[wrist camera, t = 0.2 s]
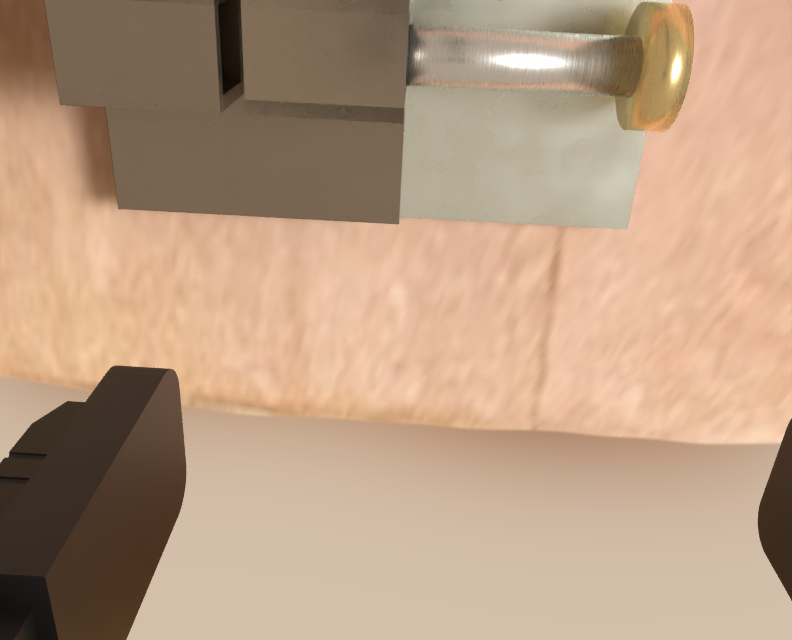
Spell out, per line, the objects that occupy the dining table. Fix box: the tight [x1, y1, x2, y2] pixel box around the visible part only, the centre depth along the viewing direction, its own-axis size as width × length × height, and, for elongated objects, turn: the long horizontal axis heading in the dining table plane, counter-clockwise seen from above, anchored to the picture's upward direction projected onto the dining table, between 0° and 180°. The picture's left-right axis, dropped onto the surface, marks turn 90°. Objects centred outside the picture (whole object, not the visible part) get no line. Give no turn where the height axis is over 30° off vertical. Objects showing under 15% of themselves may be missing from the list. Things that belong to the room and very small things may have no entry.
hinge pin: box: [406, 2, 694, 132], centre depth 31 cm, size 5×16×5 cm, turn 87°
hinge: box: [44, 0, 673, 229], centre depth 32 cm, size 16×25×7 cm, turn 87°
